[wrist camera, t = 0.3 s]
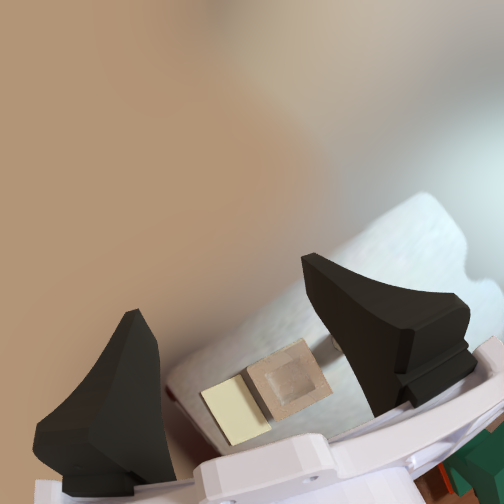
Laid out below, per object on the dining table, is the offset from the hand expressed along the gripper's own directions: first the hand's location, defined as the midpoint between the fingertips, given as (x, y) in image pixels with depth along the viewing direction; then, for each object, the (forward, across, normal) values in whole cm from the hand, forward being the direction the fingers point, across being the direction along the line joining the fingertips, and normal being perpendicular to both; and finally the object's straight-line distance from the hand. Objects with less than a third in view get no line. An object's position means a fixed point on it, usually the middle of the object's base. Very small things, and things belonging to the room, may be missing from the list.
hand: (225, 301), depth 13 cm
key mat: (+13, +4, +29) cm, 32 cm away
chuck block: (+14, -4, +27) cm, 31 cm away
